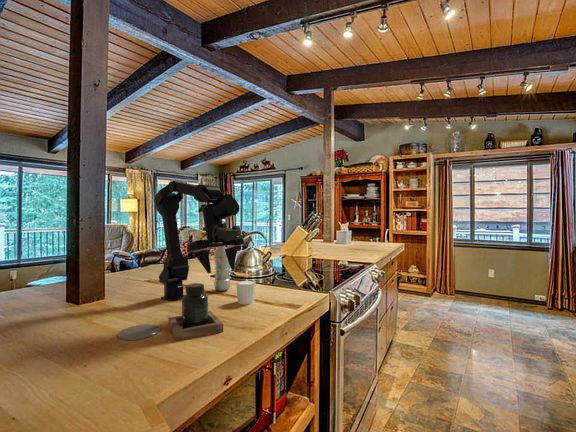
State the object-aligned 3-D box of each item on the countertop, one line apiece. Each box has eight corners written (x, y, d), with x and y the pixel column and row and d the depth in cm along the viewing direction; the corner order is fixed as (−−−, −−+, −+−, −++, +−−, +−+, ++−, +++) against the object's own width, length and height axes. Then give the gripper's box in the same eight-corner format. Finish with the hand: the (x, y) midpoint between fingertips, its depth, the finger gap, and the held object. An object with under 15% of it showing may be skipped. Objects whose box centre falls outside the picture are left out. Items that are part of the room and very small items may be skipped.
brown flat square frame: (168, 325, 89) (168, 317, 89) (210, 318, 95) (210, 311, 95) (176, 340, 78) (176, 332, 78) (223, 331, 84) (223, 323, 84)
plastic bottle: (233, 289, 129) (233, 240, 129) (222, 293, 123) (222, 242, 123) (222, 287, 132) (222, 240, 132) (210, 291, 127) (210, 241, 126)
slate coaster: (109, 335, 82) (109, 334, 82) (143, 323, 90) (143, 322, 90) (135, 343, 77) (135, 341, 77) (167, 329, 86) (167, 328, 86)
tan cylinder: (252, 305, 107) (252, 285, 107) (233, 304, 109) (233, 284, 109) (258, 300, 114) (258, 280, 114) (240, 299, 116) (240, 280, 115)
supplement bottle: (178, 327, 87) (178, 284, 87) (202, 322, 91) (202, 281, 91) (186, 335, 82) (186, 289, 82) (211, 329, 86) (211, 285, 86)
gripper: (204, 217, 89) (213, 272, 87) (251, 216, 104) (259, 263, 102) (182, 225, 96) (190, 277, 94) (229, 223, 111) (237, 267, 109)
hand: (221, 270), depth 99 cm, fingers open, 9 cm apart
